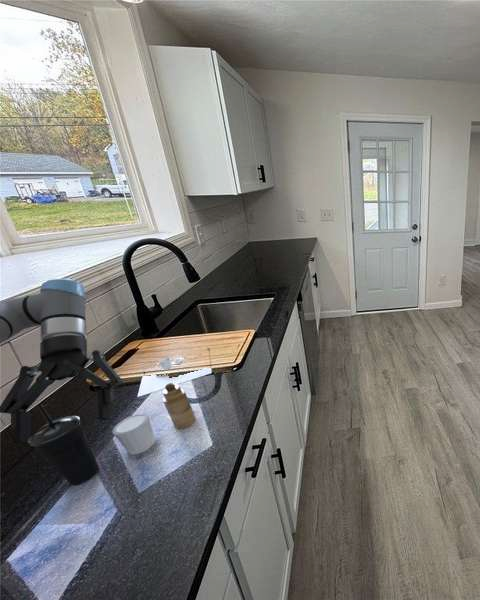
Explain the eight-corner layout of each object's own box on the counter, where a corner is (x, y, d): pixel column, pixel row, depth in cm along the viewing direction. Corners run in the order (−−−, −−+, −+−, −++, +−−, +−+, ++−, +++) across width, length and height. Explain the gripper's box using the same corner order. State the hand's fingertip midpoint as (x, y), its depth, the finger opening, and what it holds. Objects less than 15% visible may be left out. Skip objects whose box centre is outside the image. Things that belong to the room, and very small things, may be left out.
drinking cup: (106, 454, 75) (65, 387, 67) (108, 474, 70) (65, 403, 62) (61, 476, 70) (12, 406, 62) (60, 498, 65) (7, 425, 57)
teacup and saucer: (185, 359, 112) (181, 349, 111) (184, 370, 106) (180, 360, 105) (155, 368, 108) (151, 358, 107) (153, 379, 102) (148, 369, 100)
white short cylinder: (144, 456, 74) (133, 434, 71) (116, 457, 74) (104, 435, 71) (165, 433, 80) (155, 412, 77) (139, 434, 80) (128, 413, 77)
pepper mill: (172, 423, 83) (155, 385, 78) (192, 413, 86) (177, 375, 81) (177, 432, 80) (159, 392, 75) (198, 421, 83) (182, 382, 78)
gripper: (135, 331, 82) (142, 411, 75) (5, 359, 73) (0, 453, 66) (120, 321, 76) (127, 408, 69) (-25, 350, 66) (-34, 454, 60)
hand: (65, 430), depth 67 cm, fingers open, 13 cm apart
